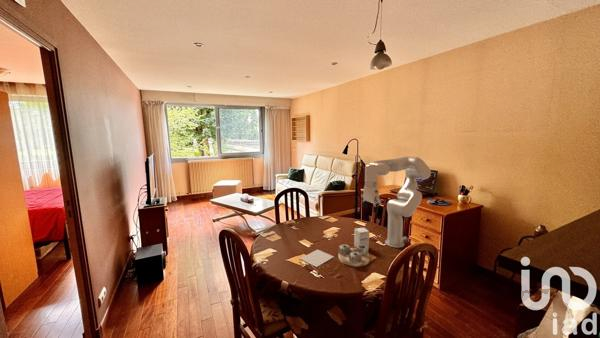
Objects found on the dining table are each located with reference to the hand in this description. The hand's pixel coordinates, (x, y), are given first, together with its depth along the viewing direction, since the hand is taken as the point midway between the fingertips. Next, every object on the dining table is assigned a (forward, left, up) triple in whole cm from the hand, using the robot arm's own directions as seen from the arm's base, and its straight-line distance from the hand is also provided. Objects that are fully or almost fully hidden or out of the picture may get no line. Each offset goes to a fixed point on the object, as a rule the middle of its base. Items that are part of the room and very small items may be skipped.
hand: (370, 210), depth 150 cm
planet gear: (+7, +2, -26) cm, 27 cm away
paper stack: (+36, -3, -29) cm, 46 cm away
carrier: (+14, +2, -28) cm, 31 cm away
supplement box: (0, -8, -28) cm, 30 cm away
